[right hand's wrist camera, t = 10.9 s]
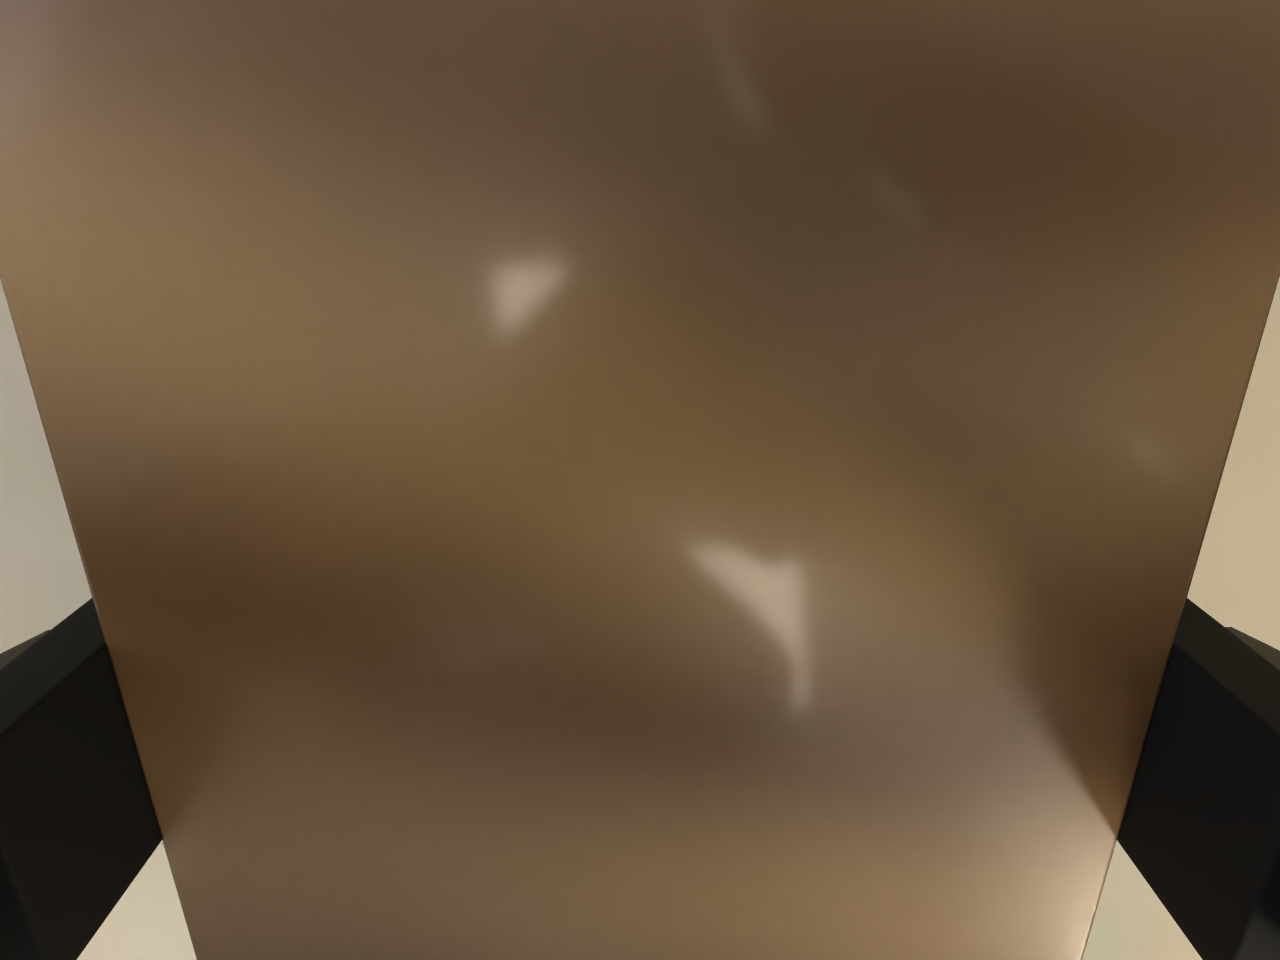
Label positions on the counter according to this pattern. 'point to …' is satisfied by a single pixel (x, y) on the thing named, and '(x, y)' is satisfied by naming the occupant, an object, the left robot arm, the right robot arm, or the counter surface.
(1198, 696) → the right robot arm
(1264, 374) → the counter surface
